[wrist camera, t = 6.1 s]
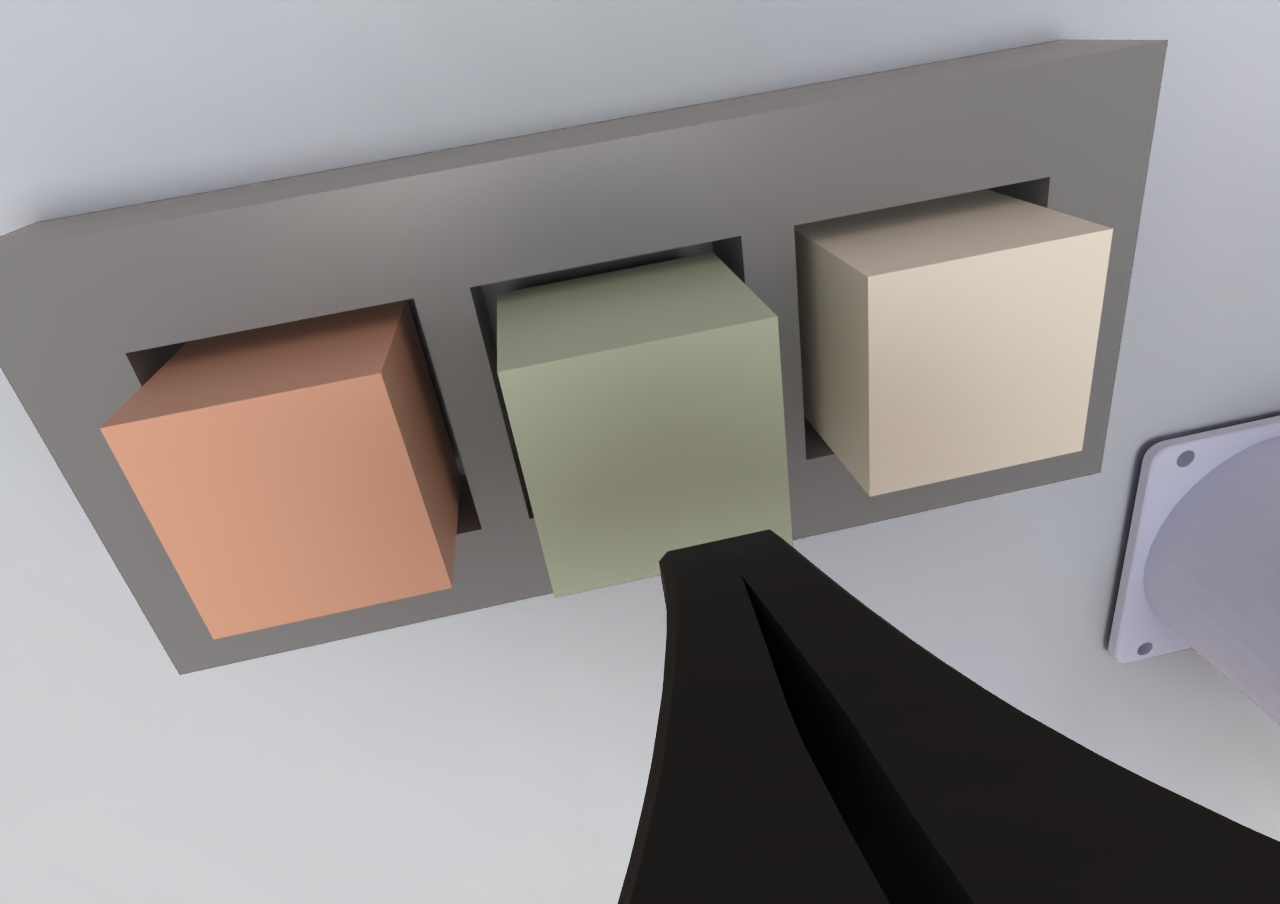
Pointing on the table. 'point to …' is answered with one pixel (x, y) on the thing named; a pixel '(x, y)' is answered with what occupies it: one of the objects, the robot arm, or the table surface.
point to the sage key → (644, 416)
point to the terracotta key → (296, 468)
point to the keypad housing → (553, 252)
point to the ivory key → (949, 335)
